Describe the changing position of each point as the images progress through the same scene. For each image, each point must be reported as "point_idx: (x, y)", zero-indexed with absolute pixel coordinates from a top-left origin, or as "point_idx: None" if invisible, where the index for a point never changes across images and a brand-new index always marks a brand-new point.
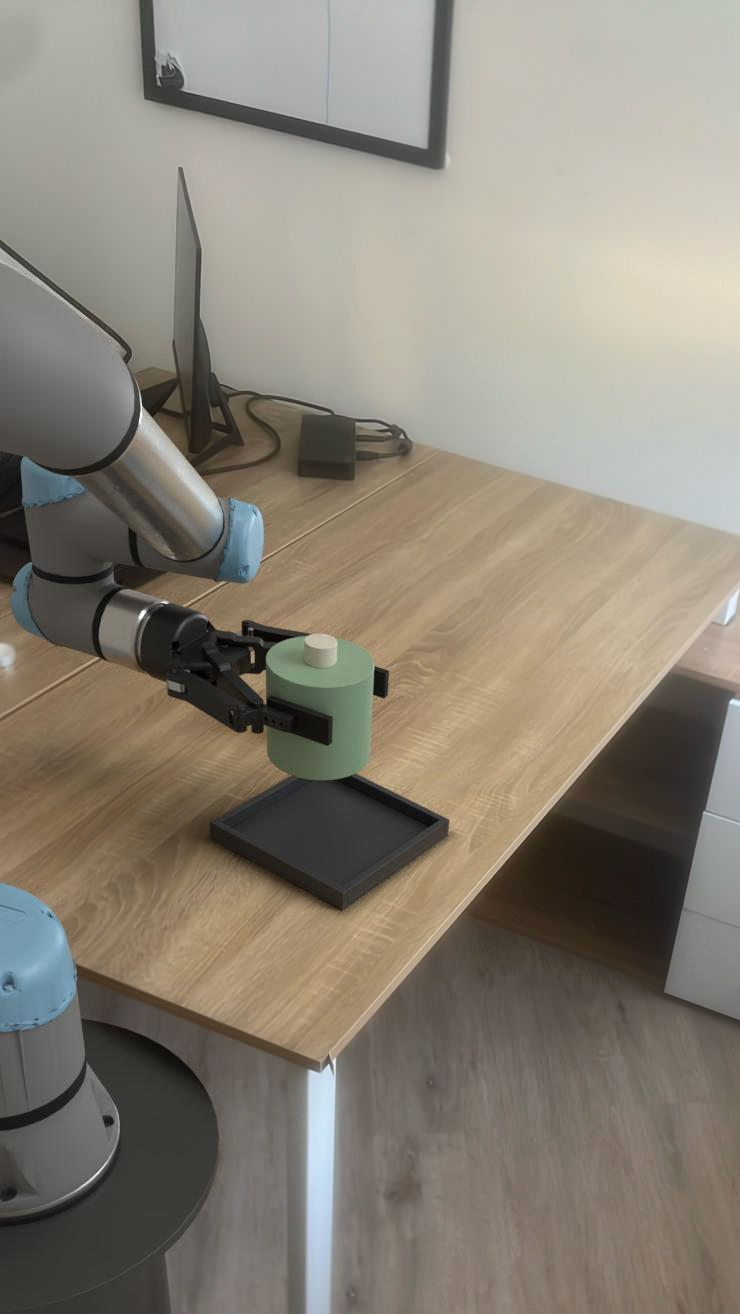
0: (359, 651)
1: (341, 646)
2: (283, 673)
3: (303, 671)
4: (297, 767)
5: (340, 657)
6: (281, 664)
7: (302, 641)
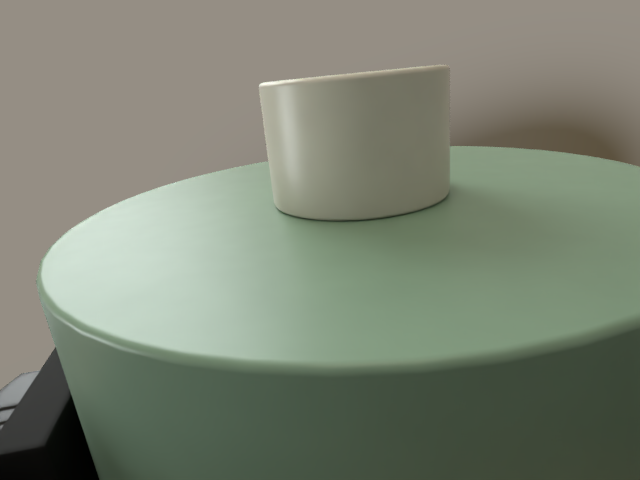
0: (155, 197)
1: (148, 222)
2: (636, 181)
3: (511, 176)
4: None
5: (263, 191)
6: (611, 209)
7: (235, 293)
